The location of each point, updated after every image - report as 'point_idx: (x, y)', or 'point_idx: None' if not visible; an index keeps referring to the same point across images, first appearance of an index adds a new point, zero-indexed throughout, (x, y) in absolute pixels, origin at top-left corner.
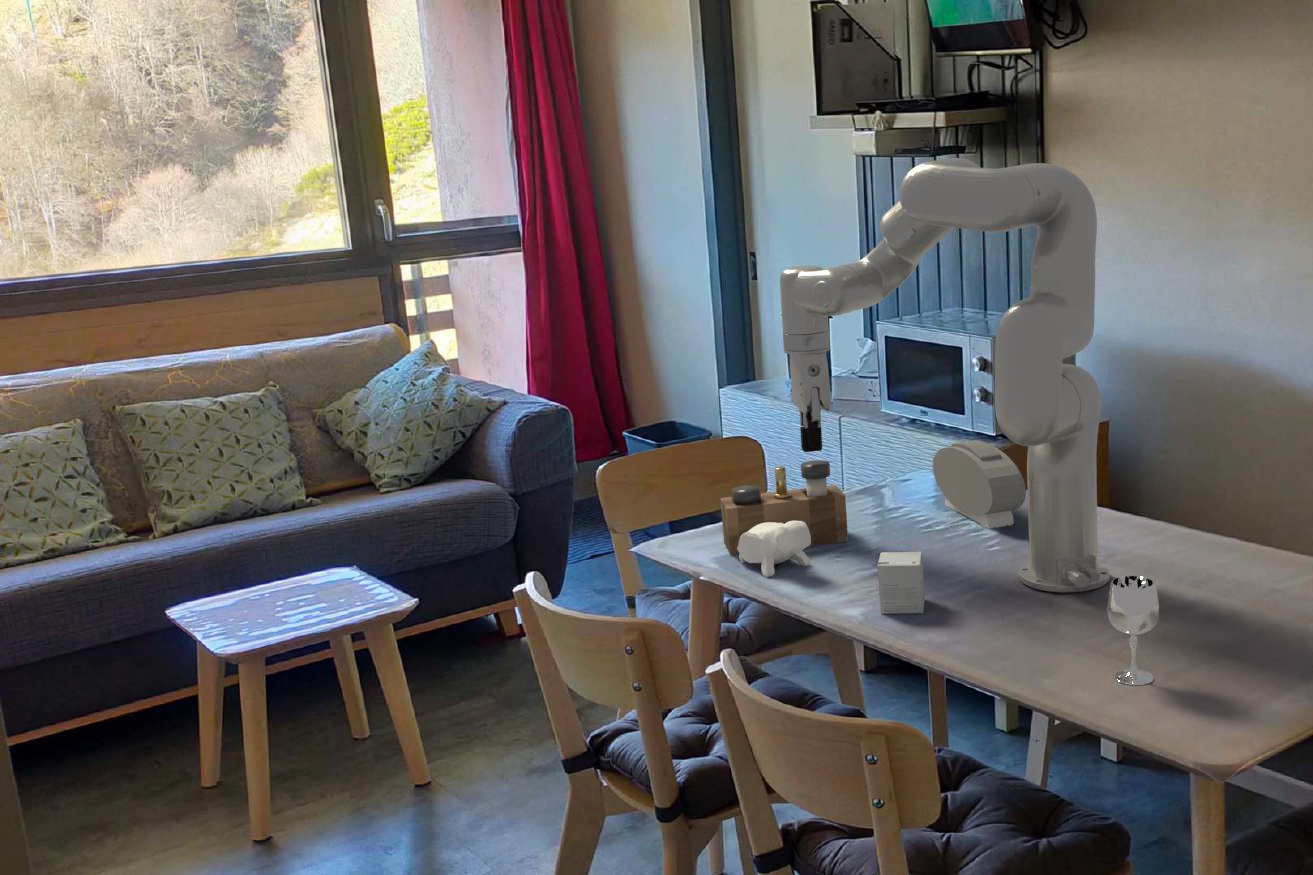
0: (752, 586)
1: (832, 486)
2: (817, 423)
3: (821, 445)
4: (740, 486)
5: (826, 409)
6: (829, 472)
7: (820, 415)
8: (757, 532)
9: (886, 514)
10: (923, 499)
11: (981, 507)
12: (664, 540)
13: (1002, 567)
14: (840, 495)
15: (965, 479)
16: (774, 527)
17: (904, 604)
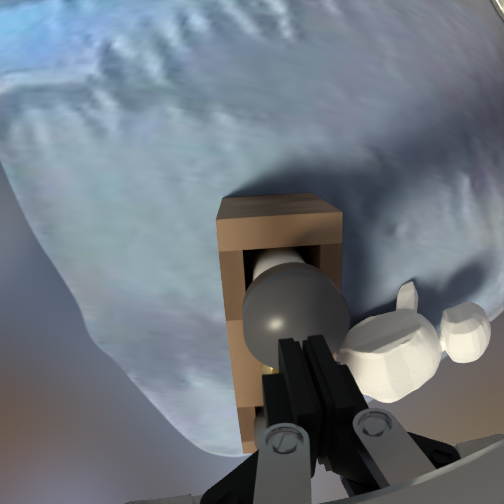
0: (441, 355)
1: (232, 231)
2: (420, 439)
3: (327, 345)
4: (258, 448)
5: (451, 463)
6: (317, 270)
7: (427, 461)
8: (418, 386)
9: (143, 82)
10: (76, 13)
11: None
12: (203, 448)
13: (485, 27)
14: (340, 225)
15: None
16: (432, 366)
17: None
